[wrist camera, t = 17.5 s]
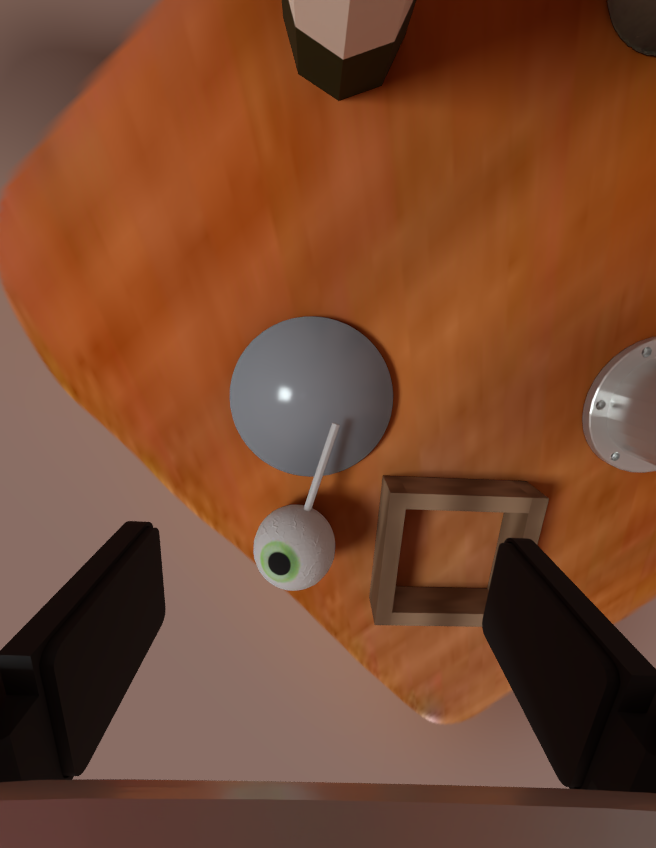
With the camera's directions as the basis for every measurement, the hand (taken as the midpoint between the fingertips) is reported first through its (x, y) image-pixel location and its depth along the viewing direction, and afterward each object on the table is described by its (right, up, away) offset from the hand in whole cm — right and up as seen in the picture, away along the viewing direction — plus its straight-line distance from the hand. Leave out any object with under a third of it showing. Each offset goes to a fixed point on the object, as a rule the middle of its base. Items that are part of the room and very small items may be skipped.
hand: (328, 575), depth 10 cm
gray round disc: (-1, +6, +22) cm, 23 cm away
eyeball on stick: (+1, +4, +20) cm, 20 cm away
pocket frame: (+12, -8, +26) cm, 30 cm away
